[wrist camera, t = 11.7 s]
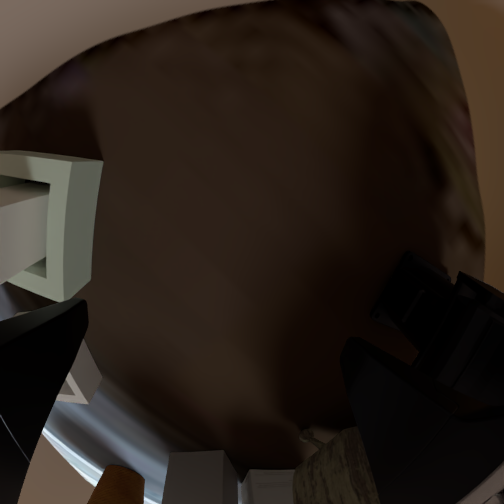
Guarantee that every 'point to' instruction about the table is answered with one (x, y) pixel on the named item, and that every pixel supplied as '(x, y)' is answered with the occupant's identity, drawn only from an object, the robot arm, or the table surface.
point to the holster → (80, 377)
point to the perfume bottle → (200, 479)
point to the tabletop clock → (335, 472)
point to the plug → (22, 227)
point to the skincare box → (268, 487)
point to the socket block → (58, 219)
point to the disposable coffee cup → (118, 487)
